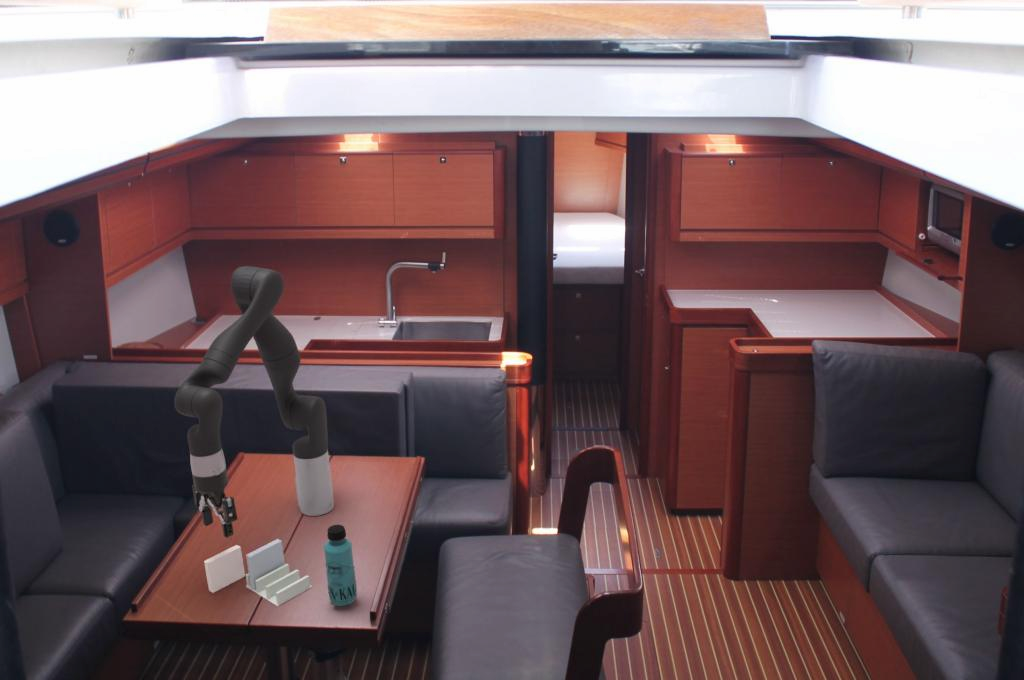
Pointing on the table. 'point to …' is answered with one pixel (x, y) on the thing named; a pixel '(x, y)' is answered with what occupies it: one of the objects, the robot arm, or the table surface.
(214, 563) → the plate
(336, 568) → the beverage bottle
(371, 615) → the table surface
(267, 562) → the plate
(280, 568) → the rack
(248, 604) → the table surface
